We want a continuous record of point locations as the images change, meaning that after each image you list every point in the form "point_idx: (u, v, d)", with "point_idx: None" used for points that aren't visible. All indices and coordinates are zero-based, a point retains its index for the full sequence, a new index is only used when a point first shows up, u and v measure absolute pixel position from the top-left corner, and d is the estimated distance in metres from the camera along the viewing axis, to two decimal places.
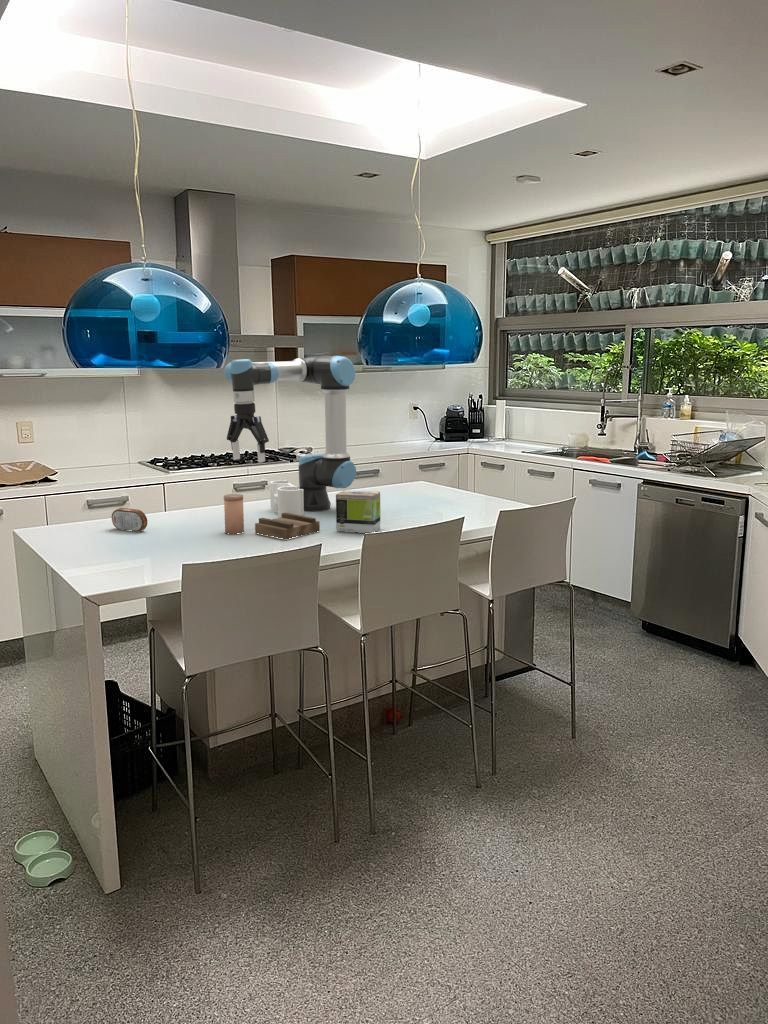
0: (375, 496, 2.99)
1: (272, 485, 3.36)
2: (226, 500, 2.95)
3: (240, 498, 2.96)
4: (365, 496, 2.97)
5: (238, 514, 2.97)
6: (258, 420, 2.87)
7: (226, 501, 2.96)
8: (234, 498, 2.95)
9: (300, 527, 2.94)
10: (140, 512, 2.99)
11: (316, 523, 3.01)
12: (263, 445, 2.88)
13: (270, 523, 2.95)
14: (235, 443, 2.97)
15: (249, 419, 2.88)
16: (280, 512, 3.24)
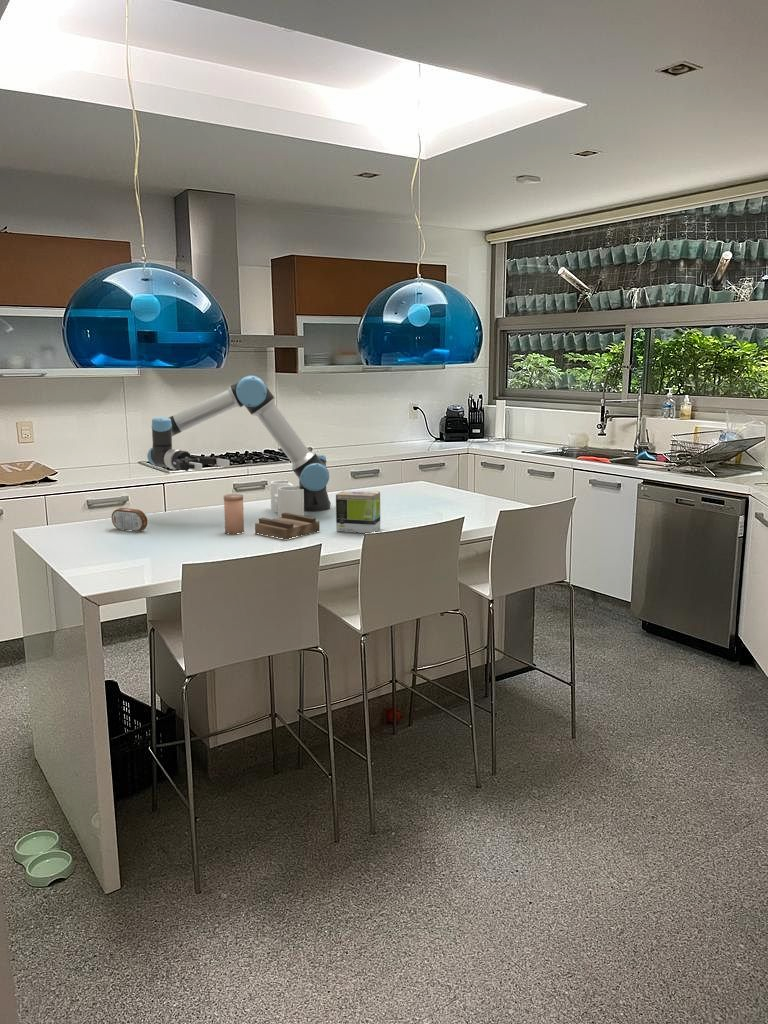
0: (375, 496, 2.99)
1: (272, 485, 3.36)
2: (226, 500, 2.95)
3: (240, 498, 2.96)
4: (365, 496, 2.97)
5: (238, 514, 2.97)
6: (174, 463, 3.05)
7: (226, 501, 2.96)
8: (234, 498, 2.95)
9: (300, 527, 2.94)
10: (140, 512, 2.99)
11: (316, 523, 3.01)
12: (187, 465, 2.99)
13: (270, 523, 2.95)
14: (217, 462, 3.10)
15: None
16: (280, 512, 3.24)
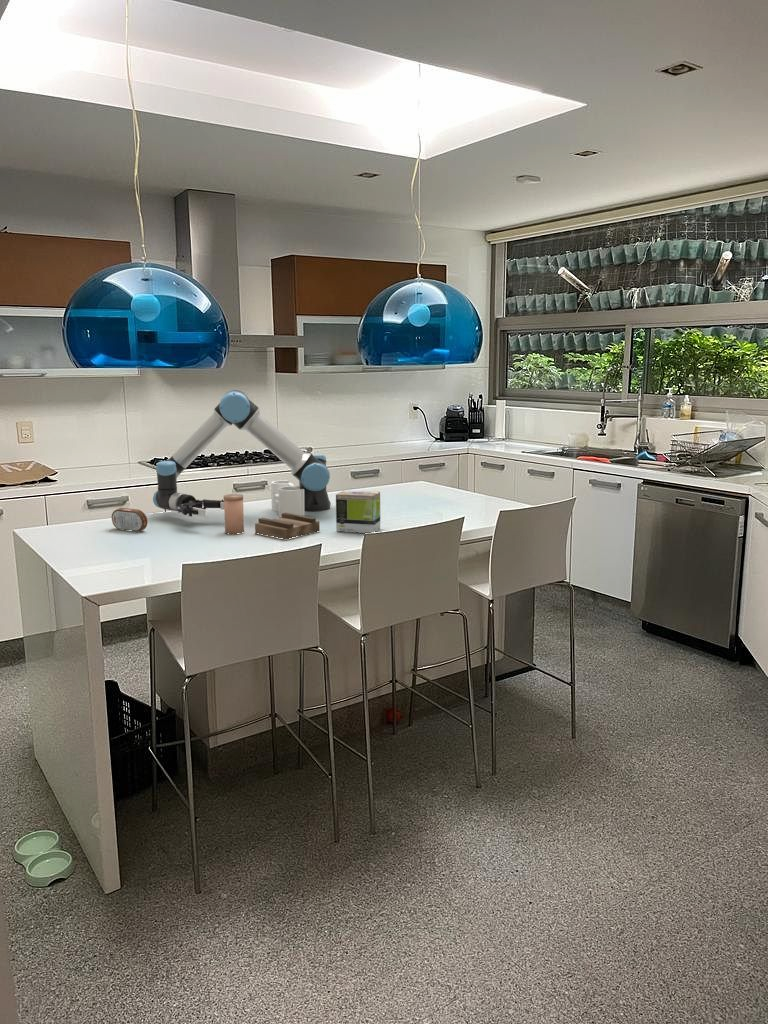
0: (375, 496, 2.99)
1: (273, 485, 3.36)
2: (226, 500, 2.95)
3: (240, 498, 2.96)
4: (365, 496, 2.97)
5: (238, 514, 2.97)
6: (179, 508, 3.08)
7: (226, 501, 2.96)
8: (234, 498, 2.95)
9: (300, 527, 2.94)
10: (140, 512, 2.99)
11: (316, 523, 3.01)
12: (190, 511, 3.01)
13: (270, 523, 2.95)
14: (221, 506, 3.13)
15: None
16: (281, 512, 3.24)
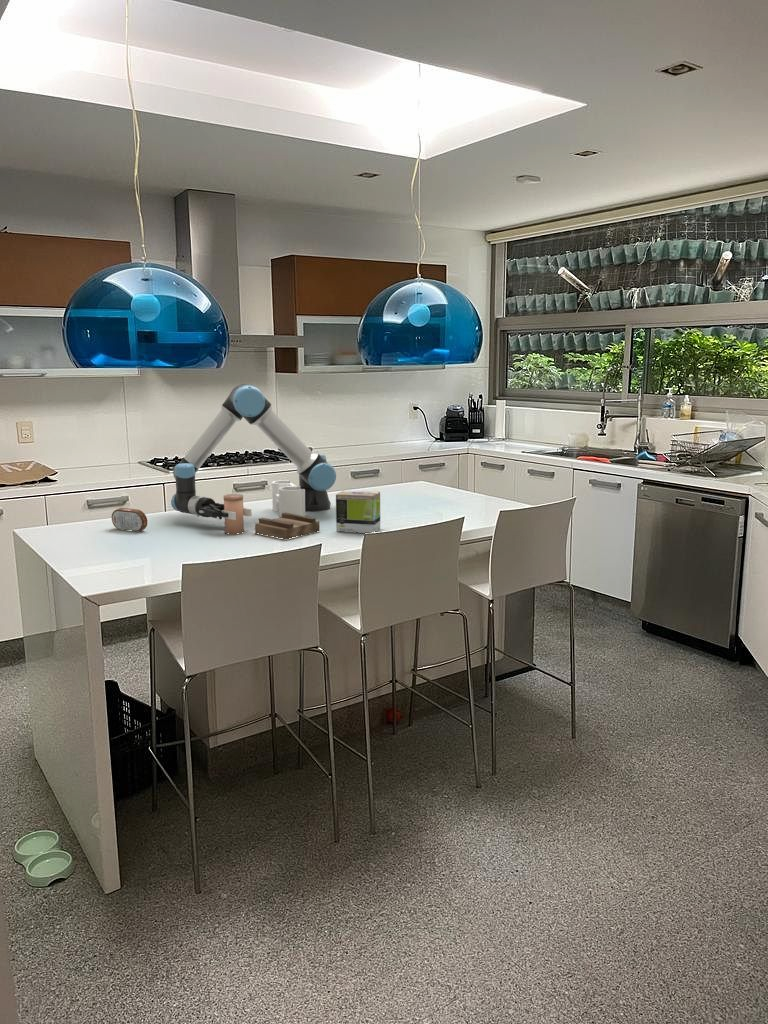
0: (375, 496, 2.99)
1: (274, 485, 3.36)
2: (226, 500, 2.95)
3: (240, 498, 2.96)
4: (365, 496, 2.97)
5: (238, 514, 2.97)
6: (201, 512, 3.01)
7: (226, 501, 2.96)
8: (234, 498, 2.95)
9: (300, 527, 2.94)
10: (140, 512, 2.99)
11: (316, 523, 3.01)
12: (220, 514, 2.96)
13: (270, 523, 2.95)
14: None
15: None
16: (281, 512, 3.24)
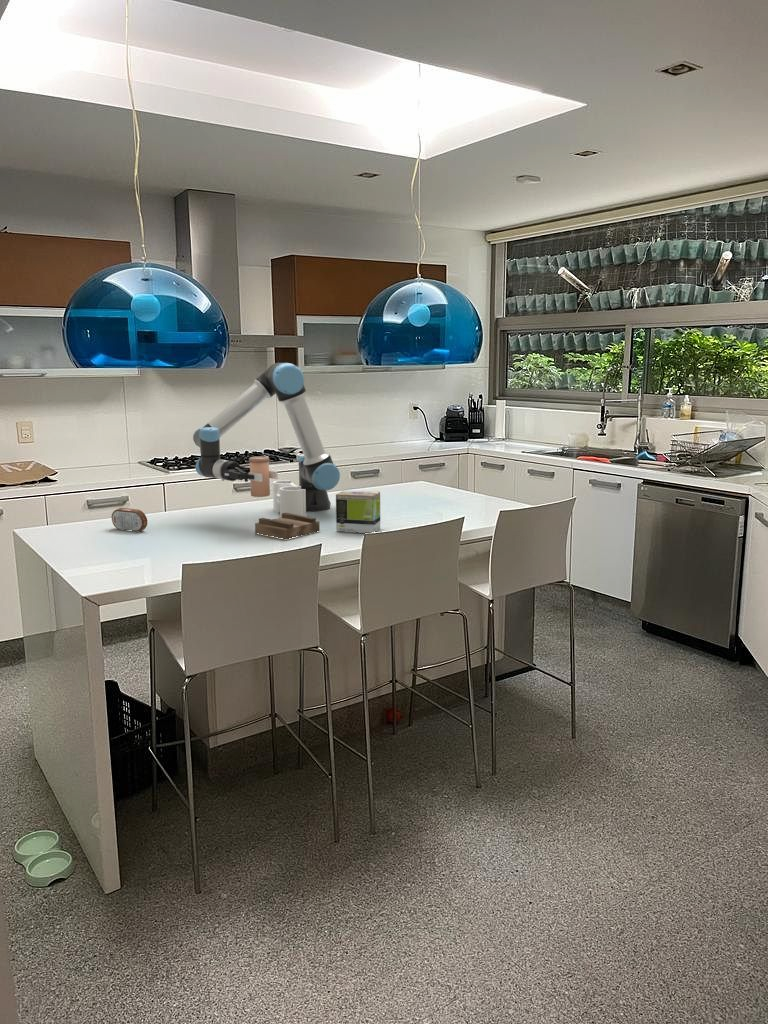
0: (375, 496, 2.99)
1: (275, 485, 3.36)
2: (252, 462, 2.91)
3: (266, 460, 2.92)
4: (365, 496, 2.97)
5: (264, 476, 2.93)
6: (227, 474, 2.97)
7: (252, 463, 2.92)
8: (260, 460, 2.91)
9: (300, 527, 2.94)
10: (140, 512, 2.99)
11: (316, 523, 3.01)
12: (246, 476, 2.92)
13: (270, 523, 2.95)
14: None
15: None
16: (282, 512, 3.24)
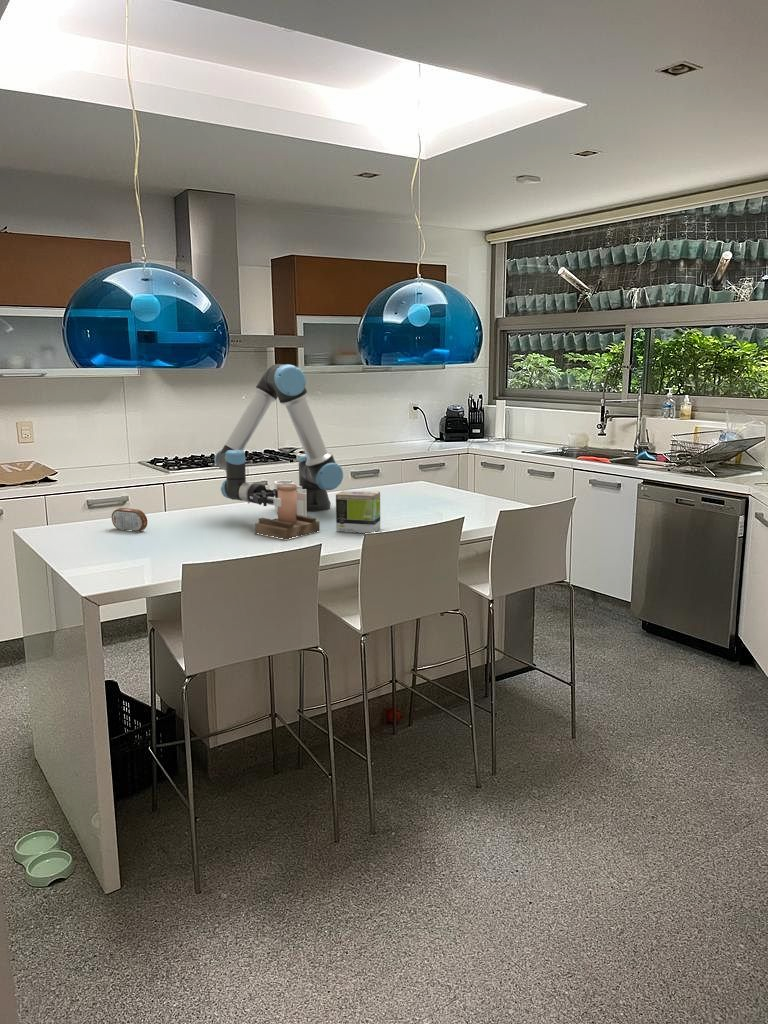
0: (375, 496, 2.99)
1: (276, 485, 3.37)
2: (280, 490, 2.94)
3: (294, 488, 2.95)
4: (365, 496, 2.97)
5: (292, 504, 2.95)
6: (251, 497, 3.00)
7: (280, 491, 2.94)
8: (288, 488, 2.93)
9: (300, 527, 2.94)
10: (140, 512, 2.99)
11: (316, 523, 3.01)
12: (265, 501, 2.93)
13: (270, 523, 2.95)
14: None
15: None
16: None
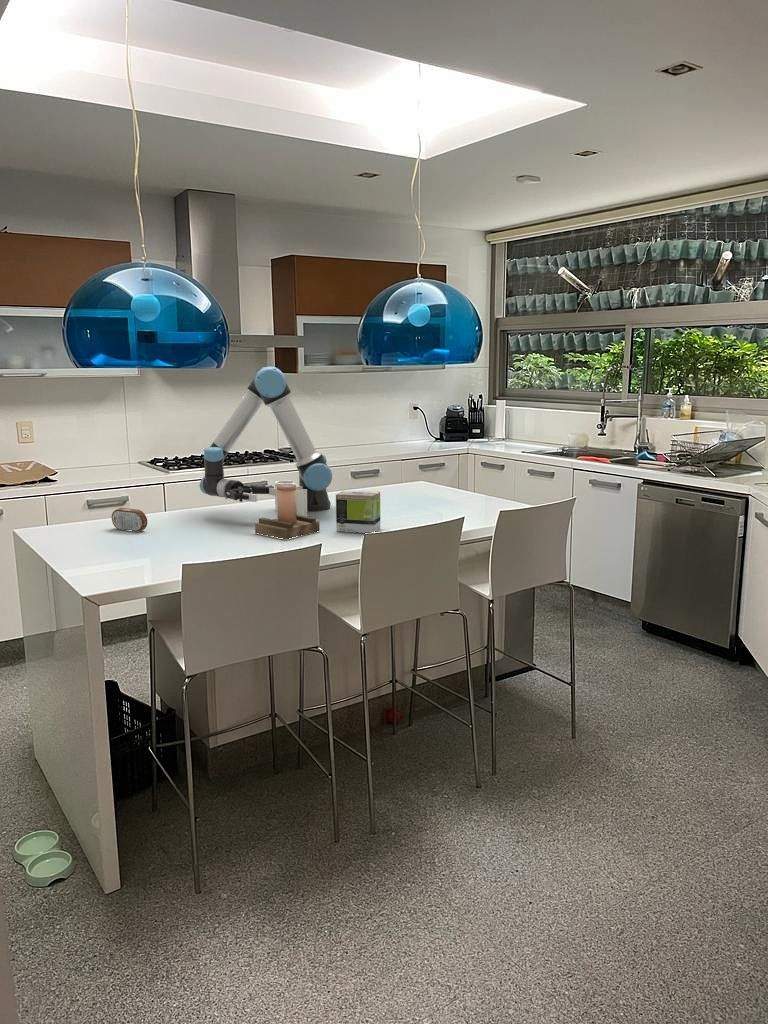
0: (375, 496, 2.99)
1: None
2: (280, 490, 2.94)
3: (294, 488, 2.95)
4: (365, 496, 2.97)
5: (292, 504, 2.96)
6: (228, 493, 3.07)
7: (280, 491, 2.94)
8: (288, 488, 2.94)
9: (300, 527, 2.94)
10: (140, 512, 2.99)
11: (316, 523, 3.01)
12: (241, 496, 3.01)
13: (270, 523, 2.95)
14: (270, 492, 3.12)
15: None
16: None
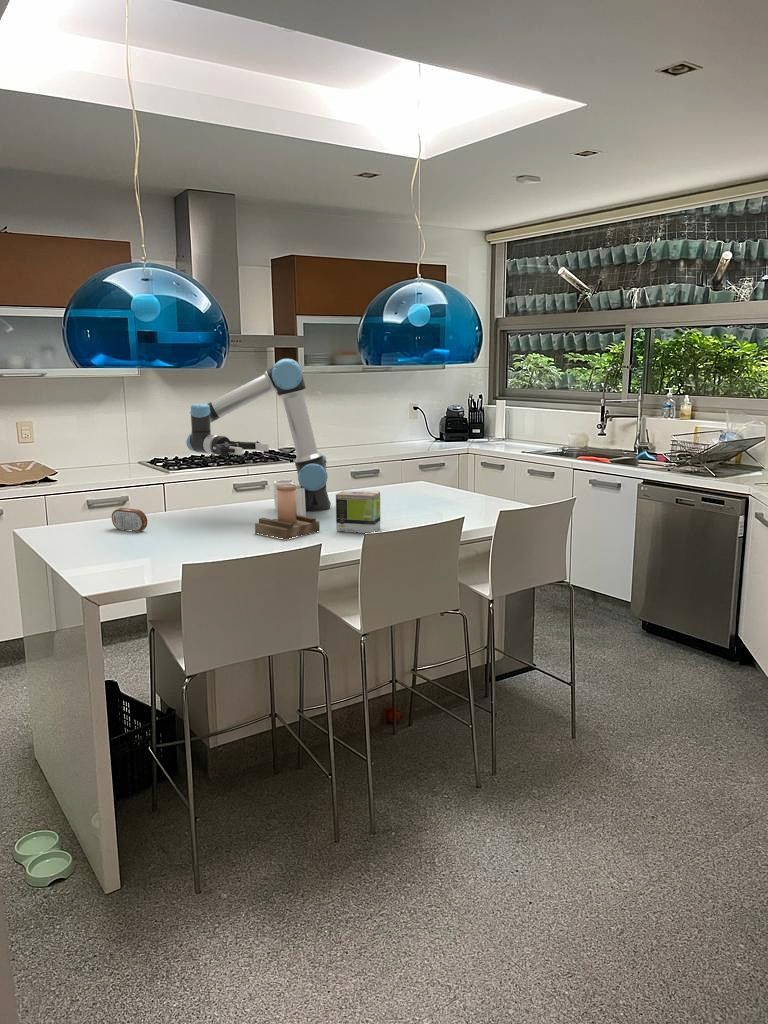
0: (375, 496, 2.99)
1: (275, 485, 3.37)
2: (280, 490, 2.94)
3: (294, 488, 2.95)
4: (365, 496, 2.97)
5: (292, 504, 2.96)
6: (214, 448, 3.08)
7: (280, 491, 2.94)
8: (288, 488, 2.94)
9: (300, 527, 2.94)
10: (140, 512, 2.99)
11: (316, 523, 3.01)
12: (227, 450, 3.01)
13: (270, 523, 2.95)
14: (256, 447, 3.13)
15: None
16: None
